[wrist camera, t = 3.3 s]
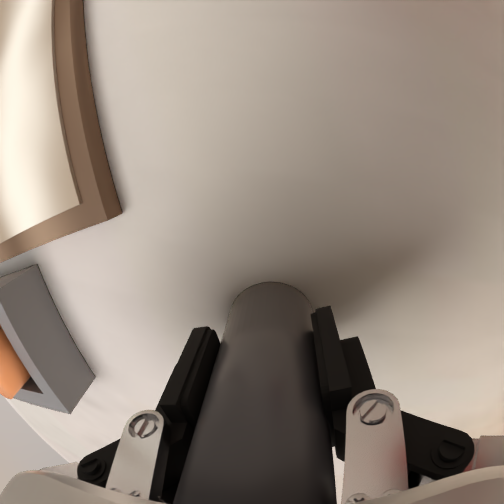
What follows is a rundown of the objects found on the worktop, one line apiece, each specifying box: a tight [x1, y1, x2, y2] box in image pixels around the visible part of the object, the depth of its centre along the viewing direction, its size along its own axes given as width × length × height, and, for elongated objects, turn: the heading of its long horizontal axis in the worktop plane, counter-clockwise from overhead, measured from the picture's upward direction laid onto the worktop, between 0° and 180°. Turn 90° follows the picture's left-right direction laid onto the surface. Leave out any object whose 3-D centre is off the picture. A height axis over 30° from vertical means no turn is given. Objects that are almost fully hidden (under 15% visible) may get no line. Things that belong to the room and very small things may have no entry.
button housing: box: [0, 265, 95, 414], centre depth 13 cm, size 8×8×4 cm
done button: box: [0, 325, 31, 399], centre depth 11 cm, size 4×4×3 cm
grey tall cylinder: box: [173, 282, 337, 504], centre depth 7 cm, size 4×4×11 cm
